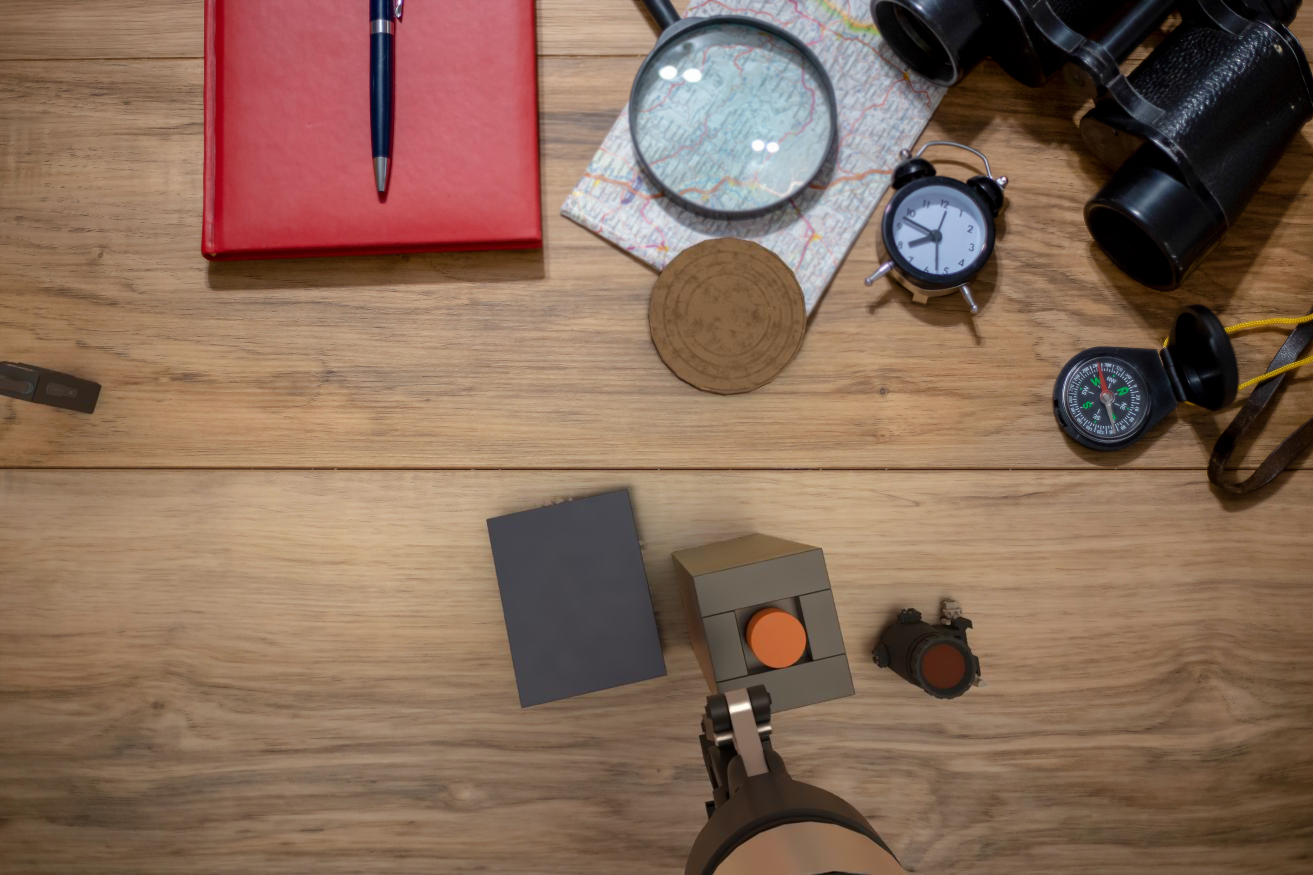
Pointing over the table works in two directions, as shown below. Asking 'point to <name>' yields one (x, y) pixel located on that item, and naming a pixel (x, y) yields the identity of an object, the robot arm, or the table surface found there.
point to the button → (776, 637)
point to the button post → (745, 582)
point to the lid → (575, 598)
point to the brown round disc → (727, 316)
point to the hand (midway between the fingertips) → (723, 742)
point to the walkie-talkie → (48, 387)
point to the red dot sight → (931, 652)
